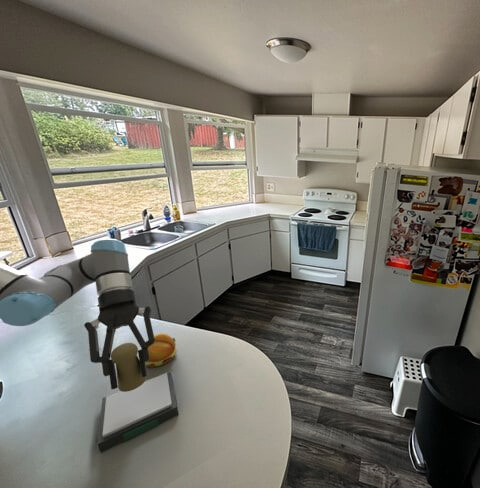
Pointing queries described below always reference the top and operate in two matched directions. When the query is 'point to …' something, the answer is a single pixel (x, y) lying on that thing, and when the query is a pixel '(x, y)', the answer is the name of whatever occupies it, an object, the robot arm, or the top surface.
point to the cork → (127, 367)
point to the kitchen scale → (136, 411)
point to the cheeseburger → (161, 350)
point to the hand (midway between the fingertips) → (130, 382)
